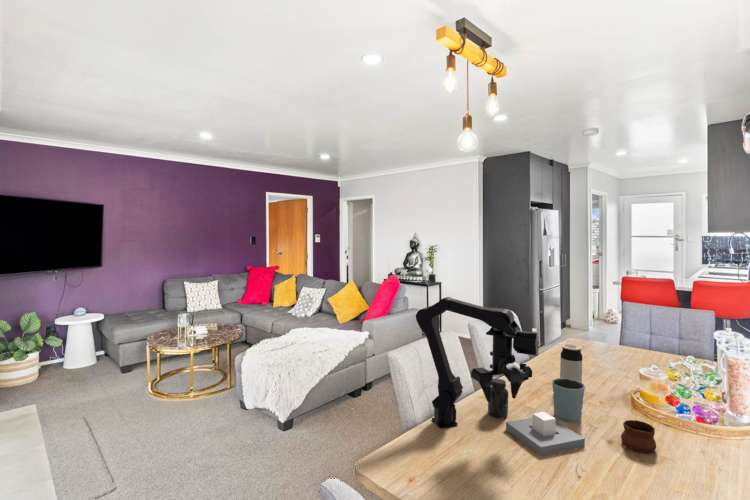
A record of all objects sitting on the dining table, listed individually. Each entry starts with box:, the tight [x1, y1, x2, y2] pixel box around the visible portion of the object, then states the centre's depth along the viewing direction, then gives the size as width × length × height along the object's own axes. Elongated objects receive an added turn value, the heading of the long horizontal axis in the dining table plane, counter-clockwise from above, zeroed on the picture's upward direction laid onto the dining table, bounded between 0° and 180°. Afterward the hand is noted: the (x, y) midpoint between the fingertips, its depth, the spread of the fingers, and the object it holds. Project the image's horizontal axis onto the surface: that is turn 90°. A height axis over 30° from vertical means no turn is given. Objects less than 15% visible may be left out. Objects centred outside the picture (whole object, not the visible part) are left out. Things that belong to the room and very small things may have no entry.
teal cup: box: [551, 377, 586, 424], centre depth 137 cm, size 10×10×12 cm
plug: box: [532, 411, 557, 437], centre depth 123 cm, size 4×5×7 cm
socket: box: [505, 416, 586, 456], centre depth 123 cm, size 16×16×2 cm
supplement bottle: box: [487, 378, 509, 419], centre depth 139 cm, size 7×7×12 cm
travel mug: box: [559, 343, 583, 383], centre depth 161 cm, size 8×8×18 cm
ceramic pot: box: [620, 419, 657, 465], centre depth 119 cm, size 18×18×7 cm
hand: (501, 399), depth 123 cm, fingers open, 9 cm apart
